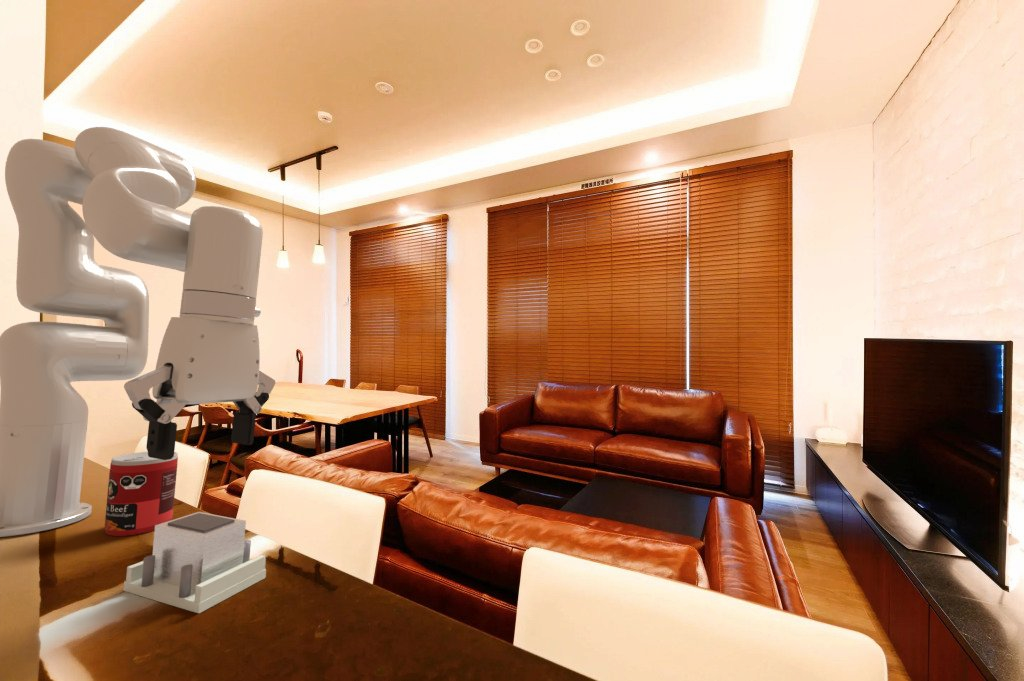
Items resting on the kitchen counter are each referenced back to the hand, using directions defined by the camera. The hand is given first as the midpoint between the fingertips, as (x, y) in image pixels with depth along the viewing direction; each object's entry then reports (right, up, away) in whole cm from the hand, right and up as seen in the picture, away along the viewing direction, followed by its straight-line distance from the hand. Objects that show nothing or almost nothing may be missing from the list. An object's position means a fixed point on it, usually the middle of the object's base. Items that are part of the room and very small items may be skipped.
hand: (204, 450), depth 50 cm
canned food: (-21, -16, +14) cm, 30 cm away
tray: (0, -16, -1) cm, 16 cm away
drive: (0, -15, -1) cm, 15 cm away
